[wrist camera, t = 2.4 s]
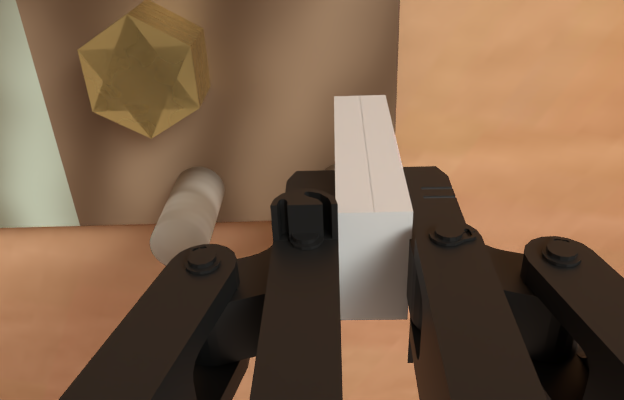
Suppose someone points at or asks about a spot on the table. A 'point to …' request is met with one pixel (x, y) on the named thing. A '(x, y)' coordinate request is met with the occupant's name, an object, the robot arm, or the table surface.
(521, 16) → the table surface
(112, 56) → the wooden star polyhedron
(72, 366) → the table surface
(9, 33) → the board
